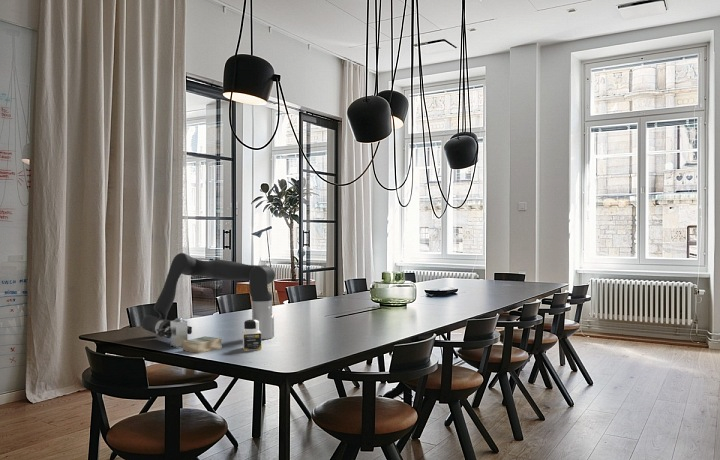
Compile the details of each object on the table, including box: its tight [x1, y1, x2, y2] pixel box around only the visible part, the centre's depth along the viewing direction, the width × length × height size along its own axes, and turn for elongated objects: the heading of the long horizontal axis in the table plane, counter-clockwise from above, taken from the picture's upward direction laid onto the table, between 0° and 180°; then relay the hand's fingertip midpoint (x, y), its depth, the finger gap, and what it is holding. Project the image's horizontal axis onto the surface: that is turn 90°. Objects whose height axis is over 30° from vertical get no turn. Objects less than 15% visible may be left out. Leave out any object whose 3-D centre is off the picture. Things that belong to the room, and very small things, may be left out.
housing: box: [169, 317, 189, 349], centre depth 250 cm, size 7×5×12 cm
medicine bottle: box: [242, 319, 262, 352], centre depth 243 cm, size 7×7×12 cm
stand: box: [182, 336, 223, 354], centre depth 243 cm, size 12×10×4 cm
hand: (180, 333), depth 249 cm, fingers open, 8 cm apart
